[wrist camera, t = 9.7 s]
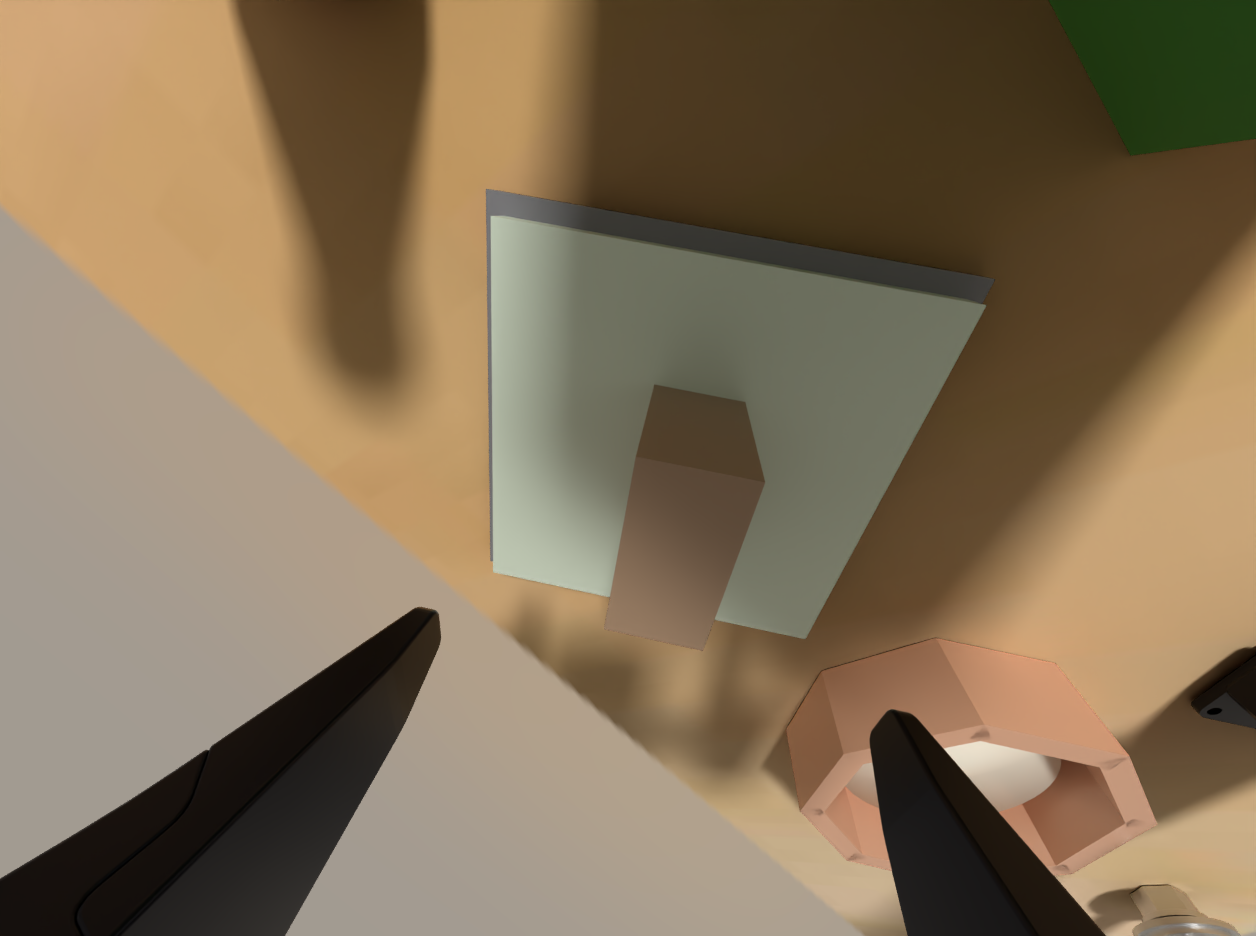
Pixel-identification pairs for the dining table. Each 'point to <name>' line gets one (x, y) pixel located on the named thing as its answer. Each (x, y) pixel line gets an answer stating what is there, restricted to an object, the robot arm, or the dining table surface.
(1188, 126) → the hardback book
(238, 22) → the dining table surface
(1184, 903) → the screw
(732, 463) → the lid
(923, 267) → the mat
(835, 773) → the bowl
